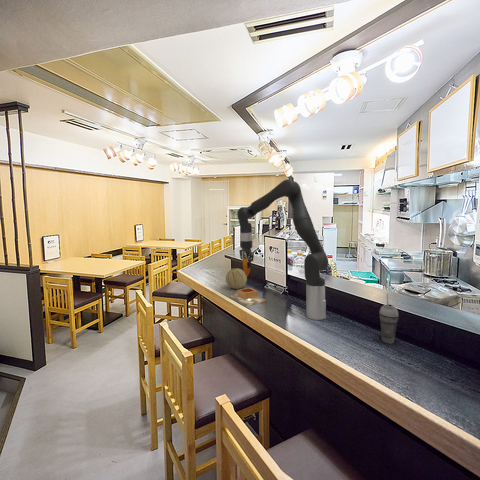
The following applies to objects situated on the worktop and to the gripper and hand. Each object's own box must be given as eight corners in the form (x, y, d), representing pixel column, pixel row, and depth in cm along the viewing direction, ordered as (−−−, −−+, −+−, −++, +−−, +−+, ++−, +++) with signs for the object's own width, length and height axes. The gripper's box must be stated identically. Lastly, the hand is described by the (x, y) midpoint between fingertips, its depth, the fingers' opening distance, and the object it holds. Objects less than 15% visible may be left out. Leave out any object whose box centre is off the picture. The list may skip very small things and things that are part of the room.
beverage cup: (387, 346, 112) (389, 298, 110) (374, 338, 119) (375, 292, 117) (402, 343, 114) (403, 296, 112) (388, 335, 121) (389, 291, 119)
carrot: (250, 275, 176) (250, 251, 174) (251, 277, 171) (250, 253, 169) (242, 275, 176) (242, 252, 174) (243, 277, 171) (242, 253, 169)
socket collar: (250, 293, 184) (250, 286, 183) (261, 298, 172) (261, 291, 172) (233, 296, 177) (233, 289, 177) (243, 302, 166) (243, 294, 165)
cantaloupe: (250, 289, 196) (249, 268, 194) (230, 292, 190) (229, 271, 189) (242, 284, 209) (241, 265, 208) (223, 287, 204) (223, 267, 202)
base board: (248, 293, 187) (248, 291, 187) (265, 301, 170) (265, 299, 170) (230, 297, 180) (230, 295, 180) (246, 306, 163) (246, 304, 163)
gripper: (257, 240, 166) (258, 268, 168) (245, 238, 179) (246, 264, 181) (247, 241, 163) (247, 270, 165) (235, 239, 175) (235, 266, 177)
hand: (246, 267), depth 173 cm, fingers closed on carrot, 4 cm apart
